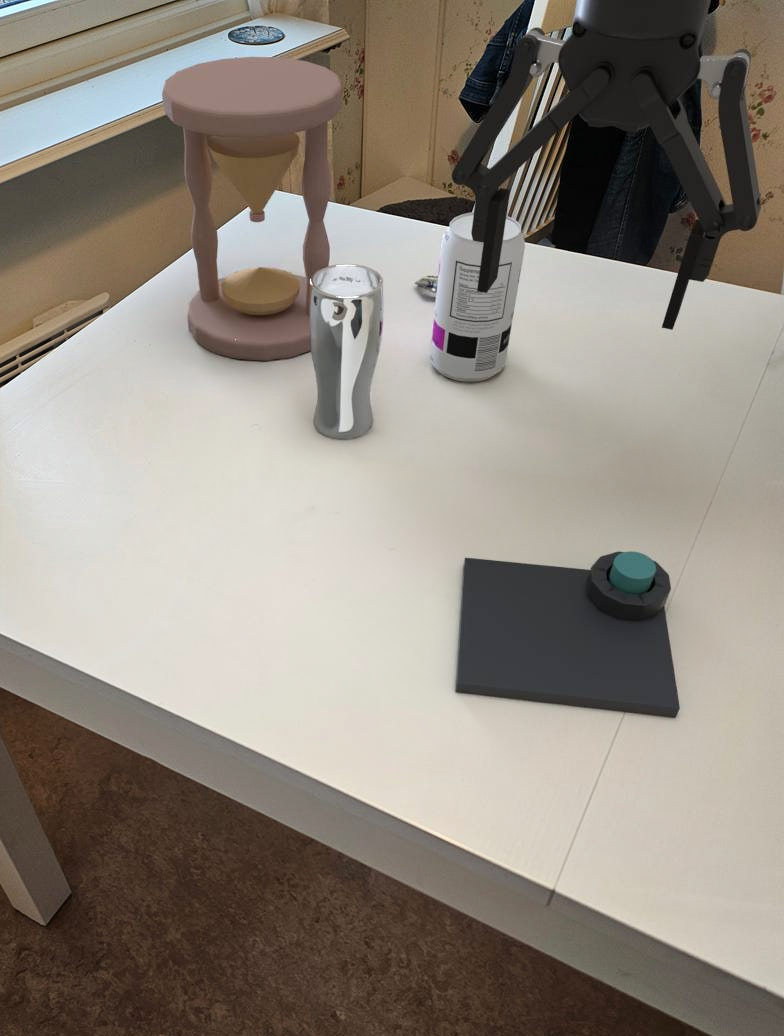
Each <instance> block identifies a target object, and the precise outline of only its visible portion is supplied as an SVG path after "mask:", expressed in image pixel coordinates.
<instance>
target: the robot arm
mask: <svg viewBox="0 0 784 1036" xmlns="http://www.w3.org/2000/svg"><path fill="white" fill-rule="evenodd" d="M711 1H712V0H576V3H575V9H574V13H573V20H572V25H571V29H570V32H569V35H568V36H567V39H565V40H563V39H560V38H555V37H551V36H547V35H546V34H545V31H544V30H543V28H541V27H538V26H537V27H533V28H530V30H529V31H528V32H526V34H524V35H523V36H522V37H521V38H520V40H518V42H517V44H516V45H515V49H514V54H513V59H512V62H511V67H510V71H509V75H508V77H507V79H506V81H505V82H504V84H503V86H502V87H501V89H500V91H499V92H498V94H497V96H496V97H495V99H494V101H493V102H492V104H491V106H490V108H489V109H488V111H487V113H486V115H485V116H484V118H483V119H482V121H481V123H480V125H479V126H478V128H477V129H476V131H475V133H474V134H473V136H472V138H471V139H470V141H469V143H468V145H467V146H466V147H465V149H464V152H463V153H462V155H461V157H460V158H459V159H458V161H457V163H456V165H455V166H454V168H453V170H452V172H451V180H452V182H453V183H454V184H455V185H457V186H463V185H464V186H465V187H467V188H468V189H470V190H471V191H472V193H473V194H474V197H475V202H474V209H473V212H474V216H473V224H472V232H471V234H472V238H473V241H477V242H483V251H482V258H481V266H480V273H479V280H478V288H477V291H479V292H484V293H487V292H488V290H489V289H490V288H491V286H492V285H493V283H494V282H495V280H496V279H497V276H498V269H499V263H500V256H501V249H502V243H503V236H504V229H505V223H506V216H508V215H507V214H508V209H509V201H510V195H511V189H510V188H503V187H501V186H502V185H503V184H504V183H505V182H507V180H509V178H511V177H512V176H513V175H514V174H515V173H516V172H517V171H518V170H519V169H520V168H521V167H522V166H523V165H524V164H525V163H526V162H527V161H529V160H530V159H531V158H532V157H533V156H534V155H535V154H536V153H537V152H538V151H539V150H540V149H542V147H543V146H544V145H545V144H546V143H548V142H549V141H550V140H551V139H552V138H554V136H555V135H556V134H557V133H559V132H560V131H561V130H562V129H563V128H564V127H565V126H566V125H567V124H568V123H569V122H570V121H572V119H574V118H575V117H576V116H577V115H578V116H579V117H580V118H581V119H582V120H583V121H584V122H586V123H587V126H588V127H593V128H605V127H614V128H617V129H619V130H621V131H624V132H631V133H636V134H637V133H638V132H639V130H644V129H645V128H648V127H650V129H651V131H652V133H653V135H654V137H655V139H656V141H657V142H658V144H659V145H661V147H662V148H663V150H664V153H665V154H666V156H667V159H668V161H669V162H670V164H671V166H672V169H673V171H674V172H675V174H676V177H677V179H678V181H679V183H680V185H681V187H682V189H683V190H684V193H685V195H686V196H687V199H688V201H689V203H690V205H691V207H692V210H693V211H694V213H695V215H696V217H697V219H695V221H694V223H693V225H692V228H691V230H690V233H689V235H688V239H687V242H686V245H685V248H684V252H683V255H682V258H681V263H680V265H679V268H678V271H677V275H676V279H675V282H674V285H673V288H672V292H671V295H670V297H669V298H670V299H669V301H668V305H667V308H666V310H665V311H666V312H665V315H664V318H663V322H662V325H661V329H666V330H671V331H673V330H674V327H675V324H676V322H677V320H678V316H679V314H680V311H681V307H682V304H683V302H684V299H685V294H686V292H687V288H688V285H689V282H690V281H695V282H702V283H704V282H705V280H706V279H707V278H708V277H709V275H710V272H711V269H712V266H713V264H714V260H715V257H716V254H717V251H718V248H719V245H720V242H721V239H722V237H723V236H724V235H725V234H727V233H730V232H732V231H738V230H739V231H742V232H749V231H751V230H752V229H754V228H755V226H756V225H757V223H758V219H759V216H760V213H761V210H762V200H761V193H760V187H759V181H758V180H759V179H758V173H757V168H756V166H757V165H756V160H755V153H754V146H753V139H752V132H751V126H750V125H751V124H750V119H749V112H748V106H747V105H748V104H747V98H746V87H747V83H748V79H749V72H750V68H751V62H752V54H751V52H750V51H749V50H748V49H745V48H740V49H737V50H735V51H734V52H732V54H731V55H728V54H727V55H703V51H702V35H703V31H704V27H705V23H706V20H707V16H708V13H709V8H710V5H711ZM553 63H554V64H555V63H556V64H557V66H558V69H559V72H560V74H561V76H562V79H563V81H564V83H565V85H566V88H567V90H568V92H567V93H566V94H565V95H564V96H563V97H562V98H561V99H560V100H559V101H557V102H556V104H554V106H553V107H552V108H551V109H550V110H549V111H548V112H547V113H545V114H544V116H543V117H541V119H540V120H538V121H537V122H536V123H535V125H534V126H532V127H531V128H530V129H529V130H528V131H527V132H526V133H525V134H524V135H523V136H522V137H521V138H520V139H519V140H517V142H516V143H515V144H513V146H511V148H510V149H508V151H507V152H505V154H504V155H502V157H500V159H499V160H498V161H496V163H495V164H493V165H492V166H491V167H490V168H489V167H487V166H485V165H484V164H482V163H483V161H484V159H485V158H486V156H487V155H488V153H489V151H490V150H491V148H492V147H493V145H494V143H495V142H496V140H497V138H498V137H499V135H500V133H501V132H502V130H503V129H504V127H505V125H506V124H507V122H508V121H509V119H510V117H511V115H512V114H513V113H514V111H515V109H516V107H517V106H518V104H519V102H520V101H521V99H522V98H523V96H524V95H525V93H526V91H527V89H529V87H530V85H531V83H532V81H533V79H534V78H539V77H541V76H543V74H544V73H546V71H547V70H548V68H549V67H550V65H551V64H553ZM697 80H702V81H703V82H704V83H705V84H706V88H707V94H708V96H709V97H710V98H711V99H714V100H718V105H717V106H718V107H717V111H718V112H717V113H718V123H719V128H720V135H721V140H722V147H723V152H724V160H725V165H726V171H727V177H728V184H729V189H730V195H731V203H730V204H727V203H726V200H725V198H724V196H723V194H722V192H721V189H720V187H719V185H718V183H717V181H716V179H715V177H714V175H713V173H712V170H711V168H710V166H709V164H708V162H707V160H706V157H705V155H704V153H703V151H702V150H701V147H700V145H699V143H698V141H697V139H696V137H695V134H694V133H693V130H692V128H691V126H690V124H689V121H688V116H687V112H686V110H685V107H684V105H683V103H682V101H681V100H680V99H681V98H680V97H681V96H682V95H683V94H684V93H686V91H688V90H689V88H690V87H692V86H693V85H694V83H695V82H696V81H697Z"/></svg>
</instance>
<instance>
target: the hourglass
mask: <svg viewBox="0 0 784 1036" xmlns="http://www.w3.org/2000/svg"><path fill="white" fill-rule="evenodd" d="M161 97H162V107H163V112H164V114H165V115H166V116H167V117H168V118H169V119H170V120H171V121H172V123H173V124H174V125H176V126H179V127H181V128H182V130H183V139H184V159H183V161H184V162H183V164H184V165H183V170H184V171H183V172H184V180H185V185H186V187H187V189H188V193H189V196H190V199H191V201H192V203H193V206H194V209H193V216H192V222H191V227H190V228H191V229H190V240H191V247H192V251H193V255H194V259H195V262H196V269H197V279H198V280H197V281H198V291H197V292H196V293H195V294H194V295H193V297H192V298H191V299H190V300H189V302H188V305H187V306H188V307H187V317H186V319H187V326H188V327H187V328H188V331H189V332H190V333H191V335H192V337H193V338H194V340H195V341H196V342H197V343H198V344H199V345H201V346H202V347H204V348H206V349H207V350H209V351H211V352H213V353H214V354H217V355H221V356H225V357H229V358H232V359H235V360H246V361H247V360H248V361H260V362H261V361H274V360H280V359H281V360H282V359H288V358H293V357H296V356H299V355H301V354H304V353H307V352H311V349H310V342H309V328H308V316H309V298H310V286H311V283H310V280H311V277H312V275H313V274H314V273H315V272H317V271H318V270H320V269H322V268H324V267H328V266H330V258H331V246H330V242H329V238H328V233H327V230H326V229H327V228H326V226H325V222H324V220H325V215H326V211H327V209H328V205H329V200H330V196H331V175H330V167H329V161H328V135H329V134H328V133H329V132H328V130H329V129H328V127H329V126H328V122H330V121H331V120H332V119H333V118H334V117H335V116H336V115H337V114H338V112H339V111H340V110H341V109H342V103H343V89H342V84H341V79H340V77H339V75H337V74H336V73H335V72H334V71H332V70H330V69H329V68H327V67H326V66H322V65H319V64H316V63H314V62H310V61H307V60H301V59H293V58H286V57H279V56H277V57H276V56H245V57H229V58H220V59H216V60H211V61H206V62H200V63H196V64H193V65H191V66H188V67H186V68H185V67H184V68H183V69H180V70H177V71H176V72H175V73H173V74H171V76H169V77H168V78H166V79H165V80H164V82H163V86H162V91H161ZM300 132H304V161H303V167H302V176H301V195H302V198H303V199H302V200H303V202H304V207H305V210H306V214H307V218H308V222H307V226H306V231H305V234H304V239H303V244H302V261H303V269H304V273H305V276H303V275H299V274H294V273H291V272H289V271H287V270H284V269H280V268H275V267H267V266H266V267H265V266H257V267H249V268H245V269H241V270H238V271H235V272H233V273H231V274H229V275H227V276H225V277H222V278H219V272H218V262H217V261H218V248H219V239H218V237H219V236H218V229H217V227H216V224H215V221H214V217H213V214H212V213H211V209H210V199H211V193H212V188H213V181H214V180H213V179H214V177H213V175H214V174H213V166H212V160H211V158H212V159H213V161H214V162H215V163H216V164H217V166H218V167H219V169H220V171H221V172H222V173H223V175H224V176H225V178H226V179H227V180H228V182H229V183H230V184H231V186H232V187H233V188H234V190H235V192H237V194H238V195H239V196H240V198H241V199H242V200H243V202H244V203H245V204H246V206H248V208H249V209H250V210H249V212H248V213H249V215H248V216H249V221H250V222H253V223H262V222H264V221H265V219H266V215H265V213H266V212H265V211H264V209H265V208H266V206H267V204H268V203H269V201H270V200H271V198H272V197H273V195H274V193H275V192H276V190H277V188H278V187H279V185H280V184H281V182H282V180H283V179H284V177H285V175H286V174H287V172H288V170H289V168H290V167H291V165H292V163H293V162H294V160H295V158H296V157H297V154H298V151H299V147H300V143H301V140H300V136H299V135H298V134H296V133H300ZM207 135H209V136H210V137H209V138H208V139H207ZM210 155H211V156H210ZM235 339H236V340H235Z"/></svg>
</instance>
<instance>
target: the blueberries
mask: <svg viewBox="0 0 784 1036" xmlns="http://www.w3.org/2000/svg"><path fill="white" fill-rule="evenodd" d="M414 284H415V285H416V286H417V288H418V289H419V290H421V291H420V295H422V296H423V297H424V296H428V297H430V298H436V294H437V284H438V275H436V276H434V275H425V276H422V277H421V278H419V280H417V281H416V282H414Z"/></svg>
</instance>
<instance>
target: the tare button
mask: <svg viewBox="0 0 784 1036" xmlns="http://www.w3.org/2000/svg"><path fill="white" fill-rule="evenodd" d="M622 552H623V553H621V554H619V555H618V556H617V557H616V558H615V560H614V563H613V566H612V569H611V572H610V575H609V580H610V583H611V584H612V586H613V587H614V588H616V589H618V590H620V591H622V592H624V593H629V594H642V593H644V592H646V591H647V590H648V589H649V588H650V585H651V583H652V580H653V577H654V575H655V572H656V565H655V563H654V562H653V559H652V558H651V557H650V556H648V555H646V554H643V553H641V552H639V551H622Z"/></svg>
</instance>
